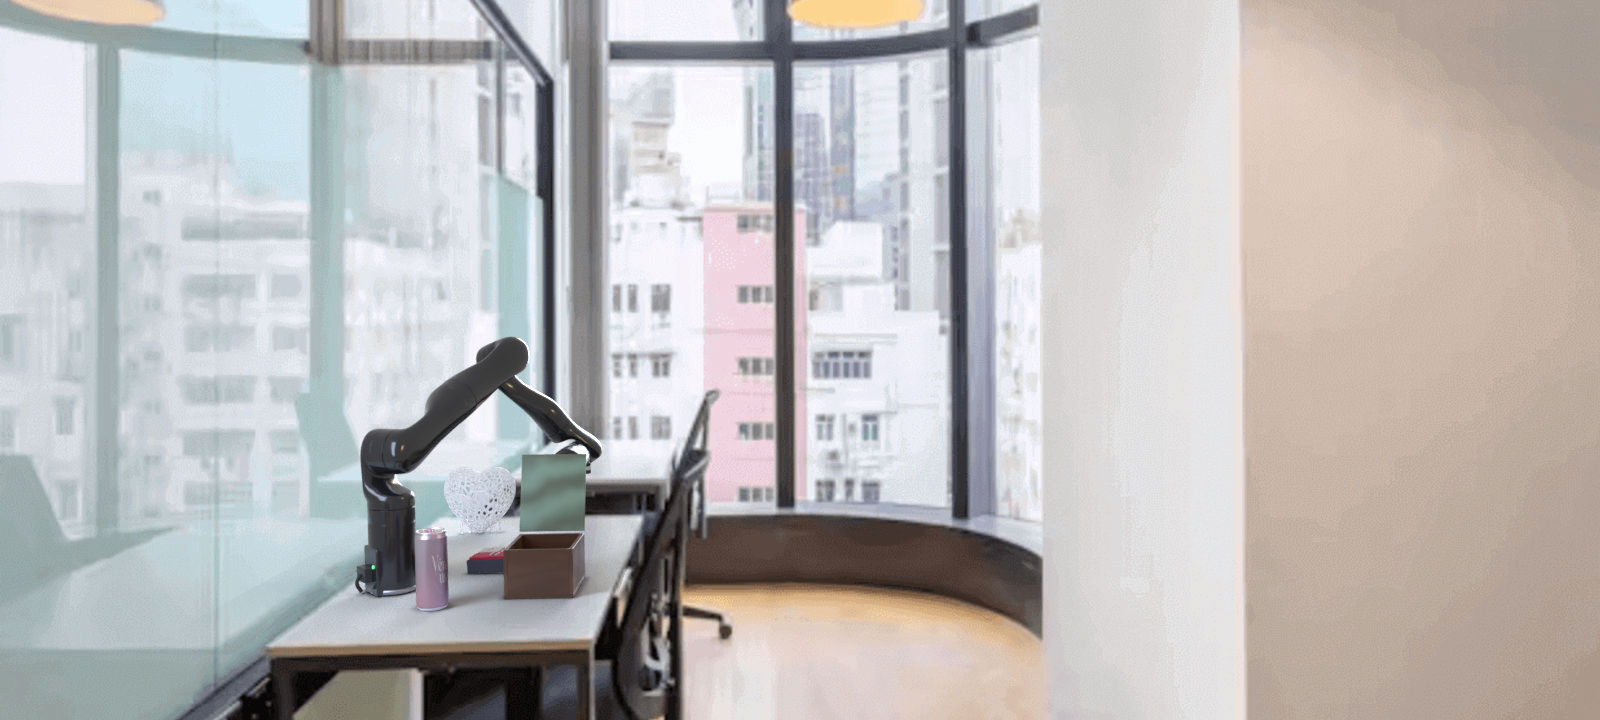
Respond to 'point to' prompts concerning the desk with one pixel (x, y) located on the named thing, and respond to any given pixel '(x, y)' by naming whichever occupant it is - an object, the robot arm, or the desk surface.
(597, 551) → the desk surface
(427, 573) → the beverage can
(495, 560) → the calculator
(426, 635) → the desk surface
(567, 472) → the lid
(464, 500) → the decorative heart
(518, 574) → the chest
